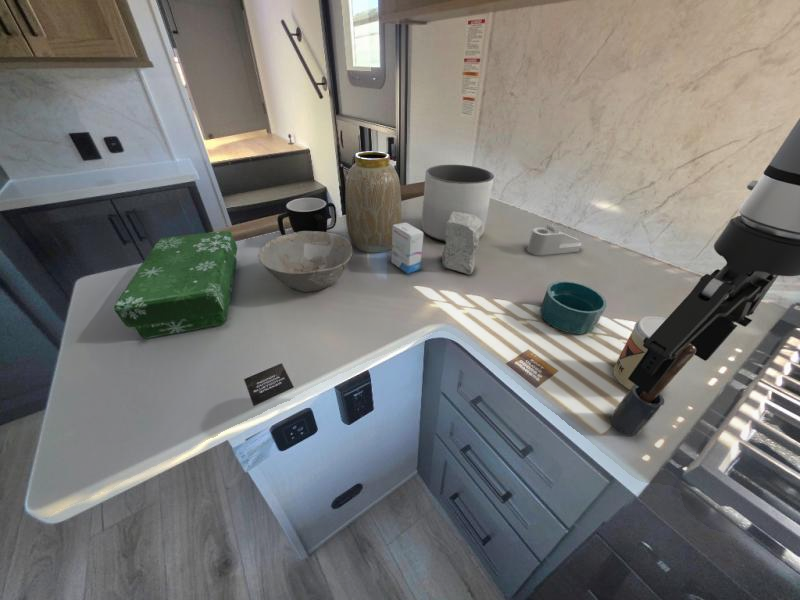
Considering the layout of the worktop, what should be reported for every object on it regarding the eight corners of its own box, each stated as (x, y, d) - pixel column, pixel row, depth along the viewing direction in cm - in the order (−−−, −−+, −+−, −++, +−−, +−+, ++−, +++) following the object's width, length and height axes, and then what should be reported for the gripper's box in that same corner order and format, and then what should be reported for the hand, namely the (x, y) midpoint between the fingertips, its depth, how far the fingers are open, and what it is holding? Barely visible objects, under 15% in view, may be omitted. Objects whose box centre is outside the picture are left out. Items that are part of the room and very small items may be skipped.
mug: (300, 227, 112) (294, 193, 105) (343, 231, 110) (340, 197, 103) (277, 247, 100) (268, 210, 92) (325, 253, 97) (320, 216, 90)
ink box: (421, 269, 91) (424, 231, 84) (407, 274, 89) (409, 235, 82) (404, 257, 96) (405, 220, 89) (390, 262, 94) (391, 224, 87)
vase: (406, 253, 99) (410, 161, 83) (351, 258, 95) (343, 163, 79) (394, 230, 112) (395, 148, 96) (345, 234, 109) (338, 149, 93)
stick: (633, 424, 52) (702, 347, 39) (626, 428, 52) (694, 352, 39) (624, 416, 53) (688, 338, 40) (617, 420, 53) (680, 343, 40)
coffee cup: (611, 353, 66) (639, 308, 59) (665, 374, 61) (702, 328, 54) (604, 382, 60) (634, 335, 52) (663, 408, 55) (705, 361, 48)
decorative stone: (436, 270, 91) (442, 222, 82) (442, 255, 98) (448, 210, 89) (472, 276, 89) (481, 227, 80) (476, 261, 96) (485, 215, 87)
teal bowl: (606, 326, 73) (618, 304, 69) (569, 341, 68) (580, 319, 64) (563, 297, 81) (572, 276, 78) (528, 309, 77) (535, 288, 73)
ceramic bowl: (337, 315, 74) (333, 279, 68) (249, 300, 77) (237, 265, 71) (366, 268, 91) (364, 236, 85) (293, 257, 95) (286, 226, 89)
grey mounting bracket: (582, 251, 103) (591, 228, 98) (533, 256, 99) (540, 232, 95) (571, 243, 107) (579, 221, 102) (523, 247, 104) (530, 224, 99)
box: (231, 329, 69) (216, 291, 63) (133, 345, 64) (108, 306, 58) (243, 260, 93) (233, 228, 87) (172, 268, 88) (157, 235, 82)
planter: (413, 239, 107) (417, 178, 95) (429, 215, 124) (433, 161, 112) (479, 250, 102) (491, 186, 90) (486, 224, 119) (497, 168, 107)
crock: (644, 429, 52) (670, 400, 47) (628, 440, 50) (653, 410, 46) (620, 409, 55) (643, 379, 50) (604, 419, 53) (625, 389, 49)
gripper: (788, 198, 39) (689, 328, 51) (670, 231, 30) (585, 378, 42) (881, 220, 33) (746, 359, 46) (773, 268, 24) (640, 425, 37)
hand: (669, 368), depth 44 cm, fingers open, 13 cm apart
